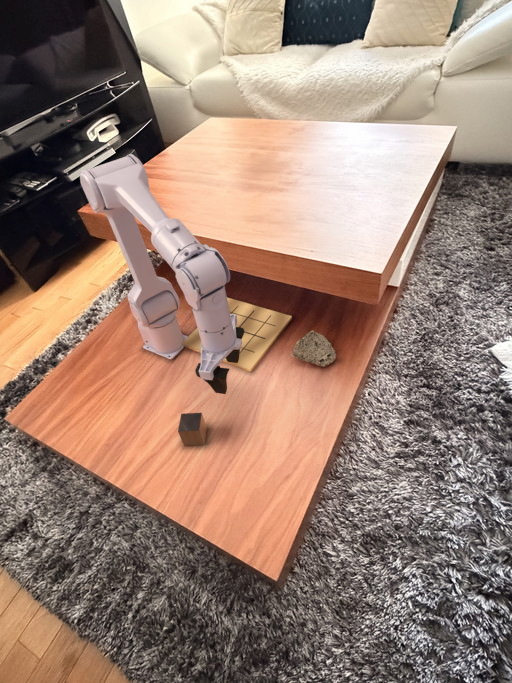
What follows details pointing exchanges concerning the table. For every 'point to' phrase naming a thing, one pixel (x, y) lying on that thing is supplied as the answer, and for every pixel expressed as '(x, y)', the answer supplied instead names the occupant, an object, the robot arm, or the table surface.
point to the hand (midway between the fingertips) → (227, 376)
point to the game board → (249, 332)
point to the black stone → (192, 429)
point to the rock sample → (314, 349)
